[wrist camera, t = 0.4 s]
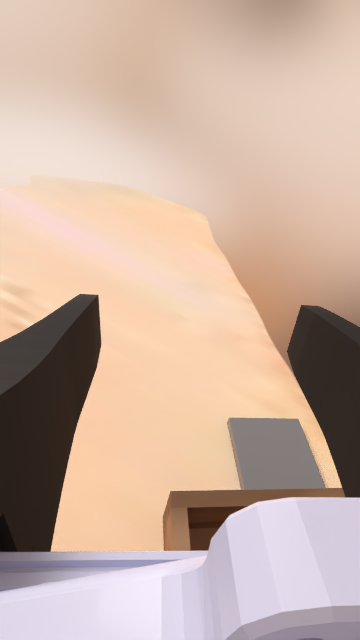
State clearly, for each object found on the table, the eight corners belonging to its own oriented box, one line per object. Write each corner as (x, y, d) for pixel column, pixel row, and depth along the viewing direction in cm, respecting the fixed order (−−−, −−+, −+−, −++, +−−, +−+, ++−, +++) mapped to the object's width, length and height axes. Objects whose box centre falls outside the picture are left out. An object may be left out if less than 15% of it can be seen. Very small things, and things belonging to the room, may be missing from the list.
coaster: (324, 498, 27) (328, 494, 26) (243, 500, 26) (246, 496, 25) (295, 423, 32) (298, 418, 32) (227, 422, 31) (229, 417, 31)
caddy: (416, 762, 17) (481, 775, 14) (171, 802, 15) (187, 827, 12) (323, 512, 26) (350, 487, 23) (162, 516, 24) (170, 491, 21)
